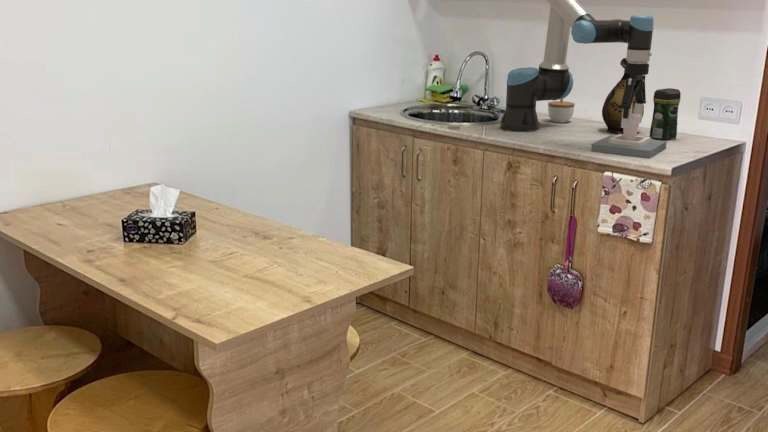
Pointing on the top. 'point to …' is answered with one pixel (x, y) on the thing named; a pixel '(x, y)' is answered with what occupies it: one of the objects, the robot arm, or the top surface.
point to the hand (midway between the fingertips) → (631, 125)
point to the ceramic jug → (616, 104)
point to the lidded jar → (560, 111)
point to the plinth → (629, 146)
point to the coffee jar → (665, 114)
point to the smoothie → (632, 127)
